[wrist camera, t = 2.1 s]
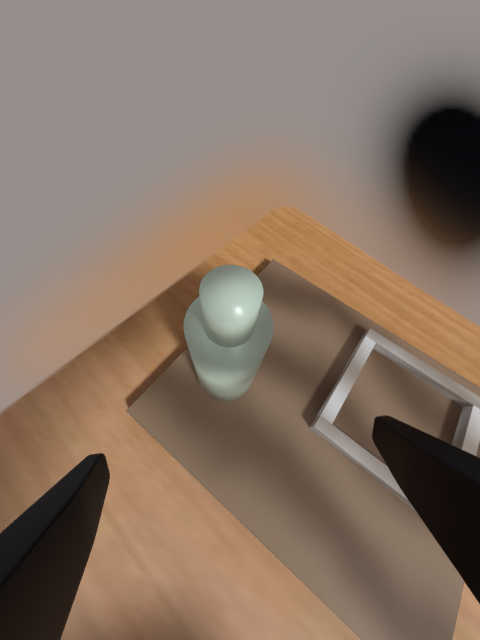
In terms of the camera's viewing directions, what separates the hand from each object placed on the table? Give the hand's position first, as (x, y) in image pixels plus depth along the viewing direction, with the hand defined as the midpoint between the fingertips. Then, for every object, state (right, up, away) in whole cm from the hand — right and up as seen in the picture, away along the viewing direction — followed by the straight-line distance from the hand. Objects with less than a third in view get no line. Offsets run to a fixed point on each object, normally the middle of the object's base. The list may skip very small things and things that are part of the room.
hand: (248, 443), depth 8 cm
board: (+7, -3, +13) cm, 15 cm away
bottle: (-2, 0, +12) cm, 12 cm away
